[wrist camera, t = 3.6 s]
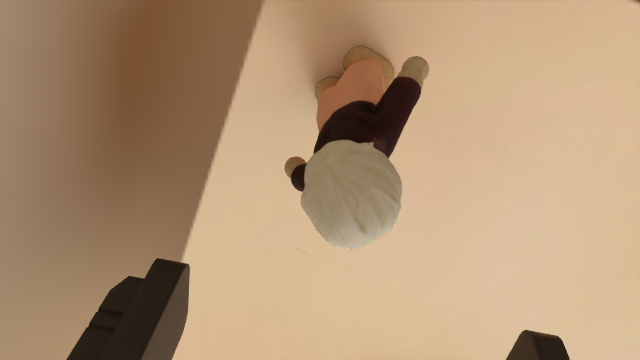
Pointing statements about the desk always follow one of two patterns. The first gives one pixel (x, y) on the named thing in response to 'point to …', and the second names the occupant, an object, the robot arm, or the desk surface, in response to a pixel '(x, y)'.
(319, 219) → the grandmother figurine
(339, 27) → the desk surface
